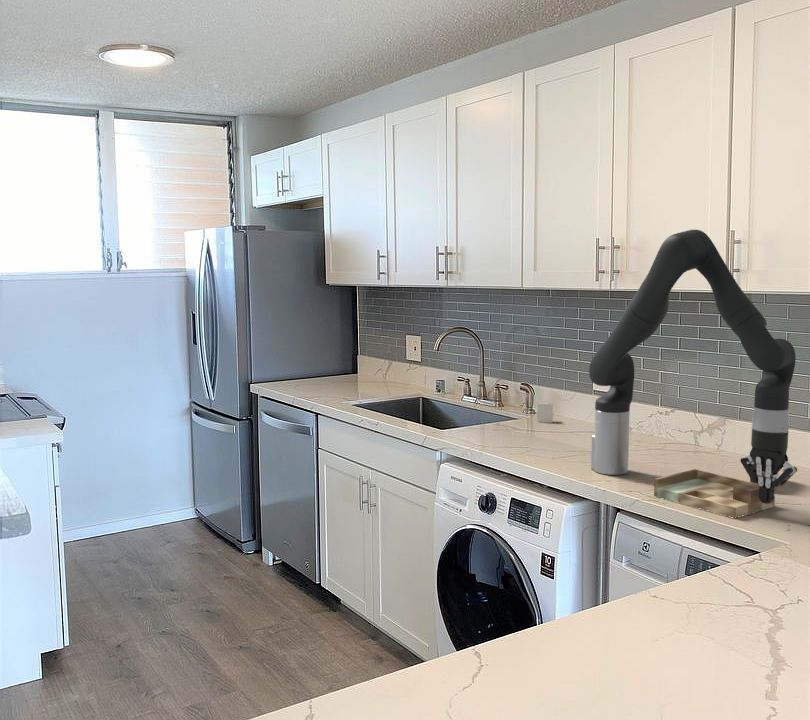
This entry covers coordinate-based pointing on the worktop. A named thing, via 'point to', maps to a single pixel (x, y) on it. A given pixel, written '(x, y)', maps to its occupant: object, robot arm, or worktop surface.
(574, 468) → the worktop surface
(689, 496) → the tray
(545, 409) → the grey square slab
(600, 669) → the worktop surface
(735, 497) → the block
